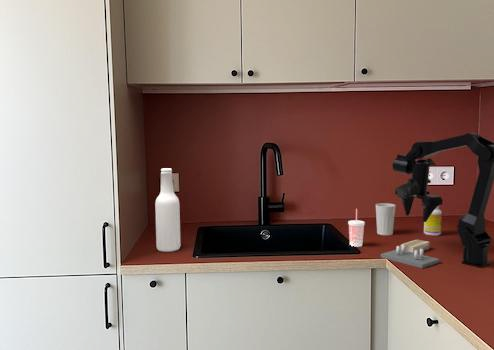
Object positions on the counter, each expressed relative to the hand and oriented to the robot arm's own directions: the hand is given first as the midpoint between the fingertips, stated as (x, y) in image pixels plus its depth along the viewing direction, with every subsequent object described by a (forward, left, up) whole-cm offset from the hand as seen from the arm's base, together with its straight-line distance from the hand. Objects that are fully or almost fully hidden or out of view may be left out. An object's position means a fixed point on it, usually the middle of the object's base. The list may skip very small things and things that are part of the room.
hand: (415, 218), depth 178 cm
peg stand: (-7, +14, -11) cm, 19 cm away
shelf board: (-1, +2, -12) cm, 12 cm away
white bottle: (+57, +71, -11) cm, 91 cm away
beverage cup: (+17, +13, -11) cm, 24 cm away
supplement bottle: (+9, -25, -11) cm, 29 cm away
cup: (+22, -11, -11) cm, 27 cm away
